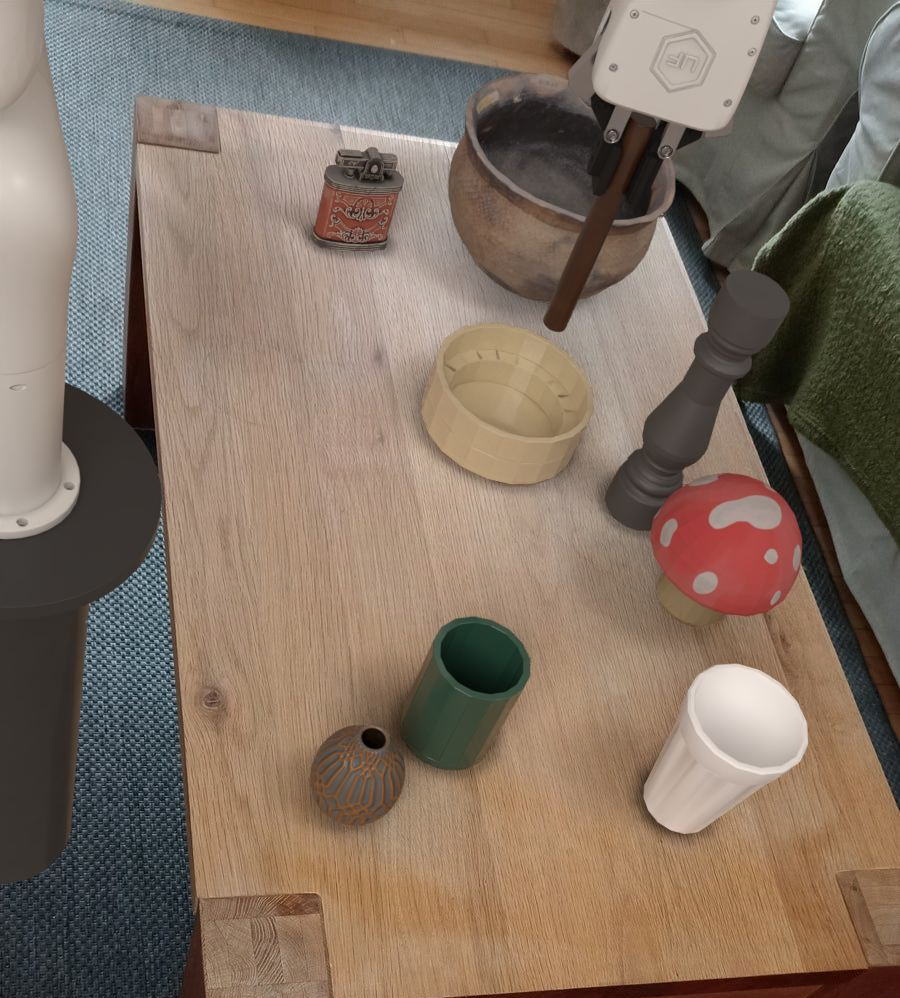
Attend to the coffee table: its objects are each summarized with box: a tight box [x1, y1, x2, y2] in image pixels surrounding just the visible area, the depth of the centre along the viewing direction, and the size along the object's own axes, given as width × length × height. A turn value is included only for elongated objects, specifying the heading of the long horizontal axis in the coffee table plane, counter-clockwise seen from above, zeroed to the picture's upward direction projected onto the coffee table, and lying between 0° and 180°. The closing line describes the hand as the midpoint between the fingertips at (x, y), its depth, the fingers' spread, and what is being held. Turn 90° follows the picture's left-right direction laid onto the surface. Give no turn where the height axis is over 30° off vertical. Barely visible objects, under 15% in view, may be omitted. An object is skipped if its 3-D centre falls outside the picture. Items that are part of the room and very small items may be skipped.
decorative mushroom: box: [649, 472, 803, 627], centre depth 114 cm, size 13×13×15 cm
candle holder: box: [604, 268, 791, 532], centre depth 115 cm, size 6×6×25 cm
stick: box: [542, 111, 658, 333], centre depth 99 cm, size 2×2×18 cm
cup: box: [642, 663, 809, 835], centre depth 103 cm, size 10×10×13 cm
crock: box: [399, 615, 532, 771], centre depth 101 cm, size 8×8×10 cm
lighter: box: [310, 146, 405, 253], centre depth 129 cm, size 8×3×10 cm, turn 108°
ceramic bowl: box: [447, 72, 676, 303], centre depth 133 cm, size 22×22×15 cm
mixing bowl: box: [420, 322, 595, 485], centre depth 123 cm, size 15×15×6 cm
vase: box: [309, 723, 406, 827], centre depth 96 cm, size 7×7×9 cm
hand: (613, 187), depth 96 cm, fingers closed on stick, 2 cm apart
